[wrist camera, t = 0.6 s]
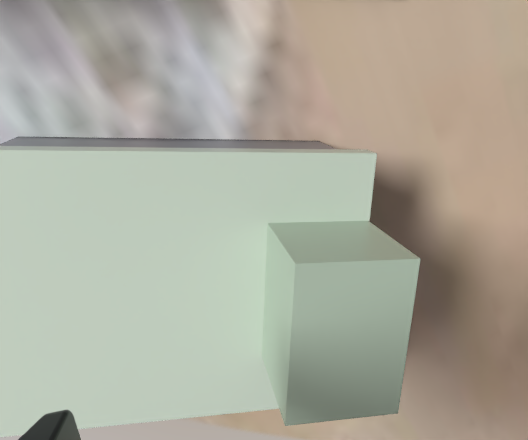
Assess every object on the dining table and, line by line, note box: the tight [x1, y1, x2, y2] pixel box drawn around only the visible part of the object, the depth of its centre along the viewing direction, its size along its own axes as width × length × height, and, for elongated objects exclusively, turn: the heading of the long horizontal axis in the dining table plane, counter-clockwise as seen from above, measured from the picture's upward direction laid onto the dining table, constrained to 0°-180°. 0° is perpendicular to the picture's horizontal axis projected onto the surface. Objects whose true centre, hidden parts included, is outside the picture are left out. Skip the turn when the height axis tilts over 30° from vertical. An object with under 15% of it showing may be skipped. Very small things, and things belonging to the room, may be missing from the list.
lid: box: [0, 146, 420, 437], centre depth 14 cm, size 13×10×5 cm
